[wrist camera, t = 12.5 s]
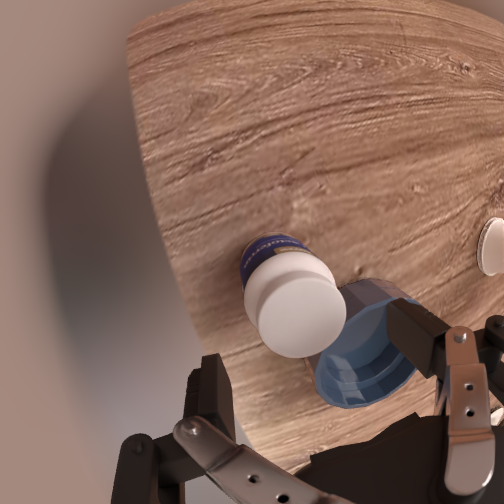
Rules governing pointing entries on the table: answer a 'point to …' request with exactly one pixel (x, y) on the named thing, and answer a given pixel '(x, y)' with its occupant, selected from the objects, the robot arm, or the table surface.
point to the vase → (491, 247)
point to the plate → (496, 416)
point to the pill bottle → (290, 296)
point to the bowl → (362, 350)
